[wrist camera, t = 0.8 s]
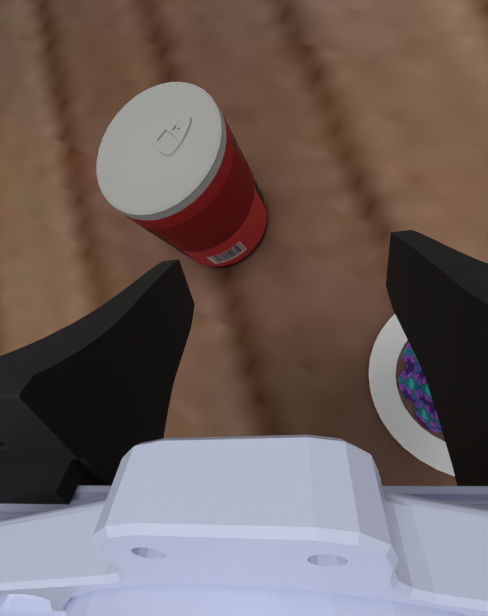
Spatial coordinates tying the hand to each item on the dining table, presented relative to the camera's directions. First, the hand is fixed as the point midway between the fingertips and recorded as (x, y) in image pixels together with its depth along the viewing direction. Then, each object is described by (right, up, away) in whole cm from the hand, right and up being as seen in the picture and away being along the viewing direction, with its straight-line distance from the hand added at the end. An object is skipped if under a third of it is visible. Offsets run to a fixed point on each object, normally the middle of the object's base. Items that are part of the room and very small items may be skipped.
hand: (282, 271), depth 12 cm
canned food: (-3, +6, +17) cm, 18 cm away
